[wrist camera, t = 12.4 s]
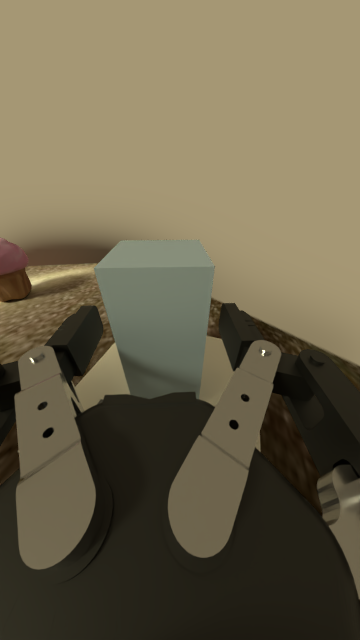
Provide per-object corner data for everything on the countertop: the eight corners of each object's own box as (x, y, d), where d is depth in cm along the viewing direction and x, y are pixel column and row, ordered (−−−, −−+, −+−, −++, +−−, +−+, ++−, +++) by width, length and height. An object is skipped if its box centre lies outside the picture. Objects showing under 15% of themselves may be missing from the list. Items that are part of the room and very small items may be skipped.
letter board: (24, 456, 13) (17, 451, 12) (135, 326, 25) (134, 320, 25) (259, 575, 9) (265, 576, 8) (254, 352, 21) (256, 346, 21)
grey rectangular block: (136, 413, 14) (93, 268, 7) (143, 364, 18) (121, 240, 11) (197, 411, 15) (214, 266, 7) (191, 363, 19) (198, 239, 12)
